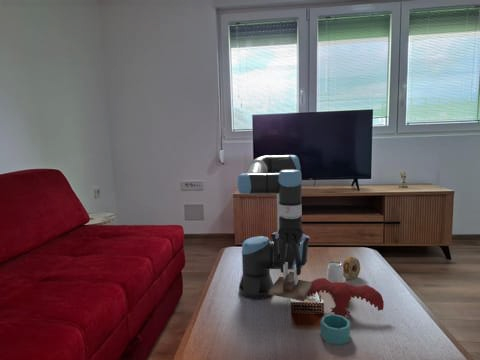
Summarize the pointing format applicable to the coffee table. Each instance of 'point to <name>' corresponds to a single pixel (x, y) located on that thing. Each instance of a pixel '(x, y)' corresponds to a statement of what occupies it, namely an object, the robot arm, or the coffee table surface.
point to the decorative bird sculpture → (346, 294)
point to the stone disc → (351, 268)
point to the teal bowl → (335, 329)
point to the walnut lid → (290, 288)
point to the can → (335, 272)
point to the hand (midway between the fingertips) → (290, 282)
